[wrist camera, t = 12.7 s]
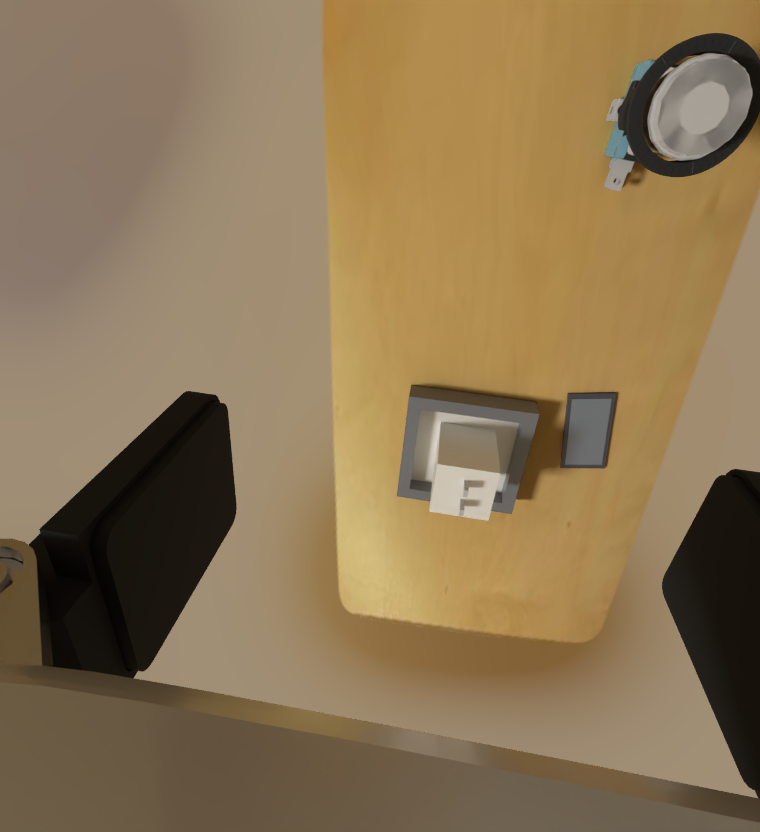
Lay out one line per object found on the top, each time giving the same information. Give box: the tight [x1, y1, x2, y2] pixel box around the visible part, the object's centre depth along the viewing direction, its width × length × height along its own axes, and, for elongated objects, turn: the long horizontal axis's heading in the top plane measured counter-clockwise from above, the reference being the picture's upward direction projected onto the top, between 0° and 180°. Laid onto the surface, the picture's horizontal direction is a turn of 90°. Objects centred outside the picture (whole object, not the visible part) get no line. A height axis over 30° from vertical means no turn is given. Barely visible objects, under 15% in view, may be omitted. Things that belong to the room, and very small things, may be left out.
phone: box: [560, 392, 617, 468], centre depth 40 cm, size 7×4×1 cm, turn 6°
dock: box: [397, 385, 540, 514], centre depth 42 cm, size 10×10×2 cm
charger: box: [429, 422, 500, 521], centre depth 39 cm, size 5×4×7 cm
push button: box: [604, 33, 760, 191], centre depth 25 cm, size 7×5×10 cm
